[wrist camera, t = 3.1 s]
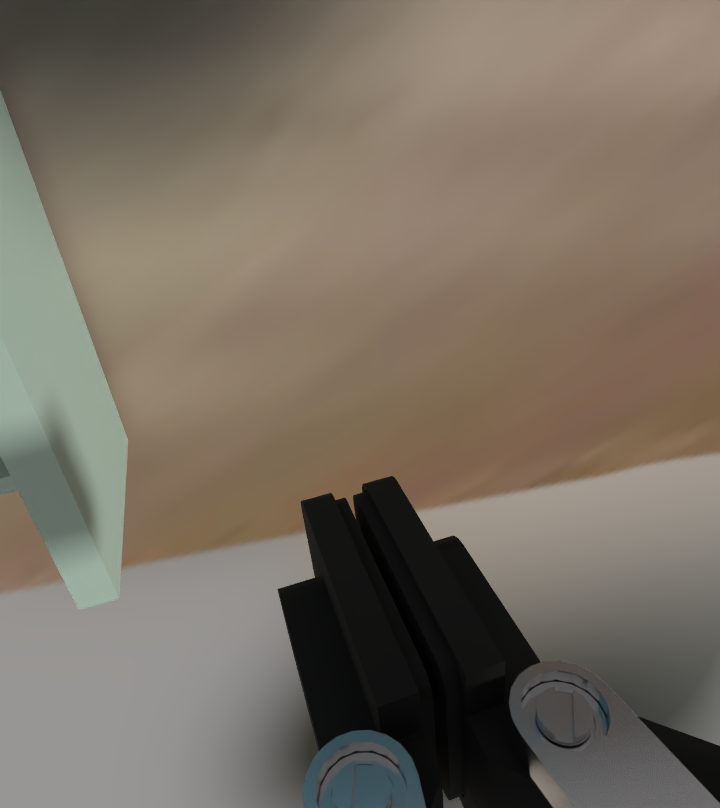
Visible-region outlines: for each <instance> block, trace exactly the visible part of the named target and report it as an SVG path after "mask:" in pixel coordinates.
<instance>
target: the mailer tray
mask: <svg viewBox="0 0 720 808" xmlns="http://www.w3.org/2000/svg"><path fill="white" fill-rule="evenodd" d="M127 452H128V439H127V436H126V433H125V431H124V428H123V425H122V422H121V420H120V417H119V414H118V411H117V409H116V406H115V403H114V400H113V398H112V395H111V392H110V389H109V387H108V384H107V381H106V379H105V376H104V373H103V370H102V368H101V365H100V362H99V359H98V357H97V354H96V351H95V348H94V346H93V343H92V340H91V337H90V335H89V332H88V329H87V326H86V324H85V321H84V318H83V315H82V313H81V310H80V307H79V304H78V302H77V299H76V296H75V293H74V291H73V288H72V285H71V282H70V280H69V277H68V274H67V271H66V269H65V266H64V263H63V260H62V258H61V255H60V252H59V249H58V247H57V244H56V241H55V238H54V236H53V233H52V230H51V227H50V225H49V222H48V219H47V216H46V214H45V211H44V208H43V205H42V203H41V200H40V197H39V194H38V192H37V189H36V186H35V183H34V181H33V178H32V175H31V172H30V170H29V167H28V164H27V162H26V159H25V156H24V153H23V151H22V148H21V145H20V142H19V140H18V137H17V134H16V131H15V129H14V126H13V123H12V120H11V118H10V115H9V112H8V109H7V107H6V104H5V101H4V98H3V96H2V93H1V90H0V494H4V493H9V492H13V491H17V490H18V491H19V493H20V495H21V497H22V499H23V501H24V503H25V505H26V507H27V509H28V511H29V513H30V515H31V517H32V519H33V521H34V523H35V525H36V527H37V529H38V531H39V533H40V535H41V537H42V539H43V541H44V543H45V544H46V546H47V548H48V550H49V552H50V554H51V556H52V558H53V560H54V562H55V564H56V566H57V568H58V570H59V572H60V574H61V576H62V578H63V580H64V582H65V584H66V586H67V588H68V589H69V592H70V593H71V595H72V597H73V599H74V601H75V603H76V605H77V607H78V609H79V610H80V609H84V608H88V607H91V606H95V605H99V604H102V603H106V602H110V601H113V600H117V599H119V595H120V577H121V560H122V542H123V524H124V506H125V488H126V470H127Z"/></svg>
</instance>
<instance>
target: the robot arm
mask: <svg viewBox="0 0 720 808" xmlns="http://www.w3.org/2000/svg"><path fill="white" fill-rule="evenodd" d="M353 500H354V508H355V516H356V519H355V517H354V515H353V513H352V510H351V508H350V506H349V504H348V502H347V500H346V498H342V499H339V500H335V499H334V497H333V495H332V494H331V493H329V494H325V495H322V496H318V497H315V498H311V499H307V500H304V501H301V507H302V513H303V518H304V523H305V528H306V533H307V538H308V543H309V549H310V554H311V559H312V564H313V569H314V575H315V578H313V579H310V580H306V581H303V582H300V583H296V584H293V585H290V586H287V587H284V588H280V589H278V593H279V597H280V601H281V605H282V609H283V613H284V617H285V621H286V625H287V630H288V633H289V637H290V642H291V646H292V650H293V653H294V657H295V661H296V665H297V669H298V673H299V677H300V681H301V685H302V688H303V692H304V696H305V700H306V704H307V708H308V712H309V716H310V719H311V723H312V727H313V731H314V735H315V739H316V743H317V747H318V750H319V753H318V754H317V755H316V757H315V758H314V759H313V761H312V762H311V764H310V767H309V769H308V772H307V775H306V777H305V780H304V792H303V807H304V808H443V792H442V789H443V791H444V793H445V795H446V797H447V798H448V800H451V799H454V798H457V797H460V800H461V802H462V805H463V807H464V808H720V746H718V745H715V744H712V743H710V742H707V741H704V740H702V739H699V738H696V737H693V736H690V735H688V734H685V733H682V732H679V731H677V730H674V729H671V728H668V727H666V726H663V725H660V724H657V723H654V722H652V721H649V720H646V719H644V718H641V717H638V716H636V714H634V713H633V712H632V710H631V709H630V708H629V707H628V706H627V705H626V704H625V703H624V702H623V701H622V700H621V699H620V698H619V697H618V696H617V694H615V693H614V691H613V690H612V689H611V688H610V687H609V686H608V685H607V684H606V683H605V682H604V681H602V680H601V679H600V678H599V677H597V676H596V675H595V674H594V673H592V672H590V671H589V670H587V669H585V668H583V667H580V666H578V665H576V664H572V663H567V662H563V661H545V662H540V661H539V659H538V658H537V656H536V654H535V653H534V651H533V650H532V648H531V647H530V645H529V644H528V642H527V641H526V639H525V638H524V636H523V635H522V633H521V632H520V630H519V629H518V627H517V625H516V624H515V622H514V621H513V620H512V618H511V617H510V615H509V613H508V612H507V610H506V609H505V607H504V606H503V604H502V603H501V601H500V600H499V598H498V597H497V595H496V594H495V592H494V591H493V589H492V588H491V586H490V585H489V583H488V582H487V580H486V579H485V577H484V576H483V574H482V572H481V571H480V569H479V568H478V566H477V565H476V563H475V562H474V560H473V559H472V557H471V556H470V554H469V553H468V551H467V550H466V548H465V547H464V545H463V544H462V543H461V541H460V540H459V539H458V538H457V537H455V536H450V537H447V538H444V539H440V540H437V541H434V542H433V540H432V538H431V537H430V535H429V533H428V532H427V530H426V529H425V527H424V525H423V523H422V522H421V520H420V518H419V517H418V515H417V513H416V512H415V510H414V508H413V507H412V505H411V503H410V502H409V500H408V499H407V497H406V495H405V494H404V492H403V490H402V489H401V487H400V485H399V484H398V482H397V480H396V479H395V478H394V477H393V476H390V477H387V478H383V479H379V480H376V481H372V482H369V483H365V484H363V485H362V493H360V494H356V495H354V496H353Z"/></svg>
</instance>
